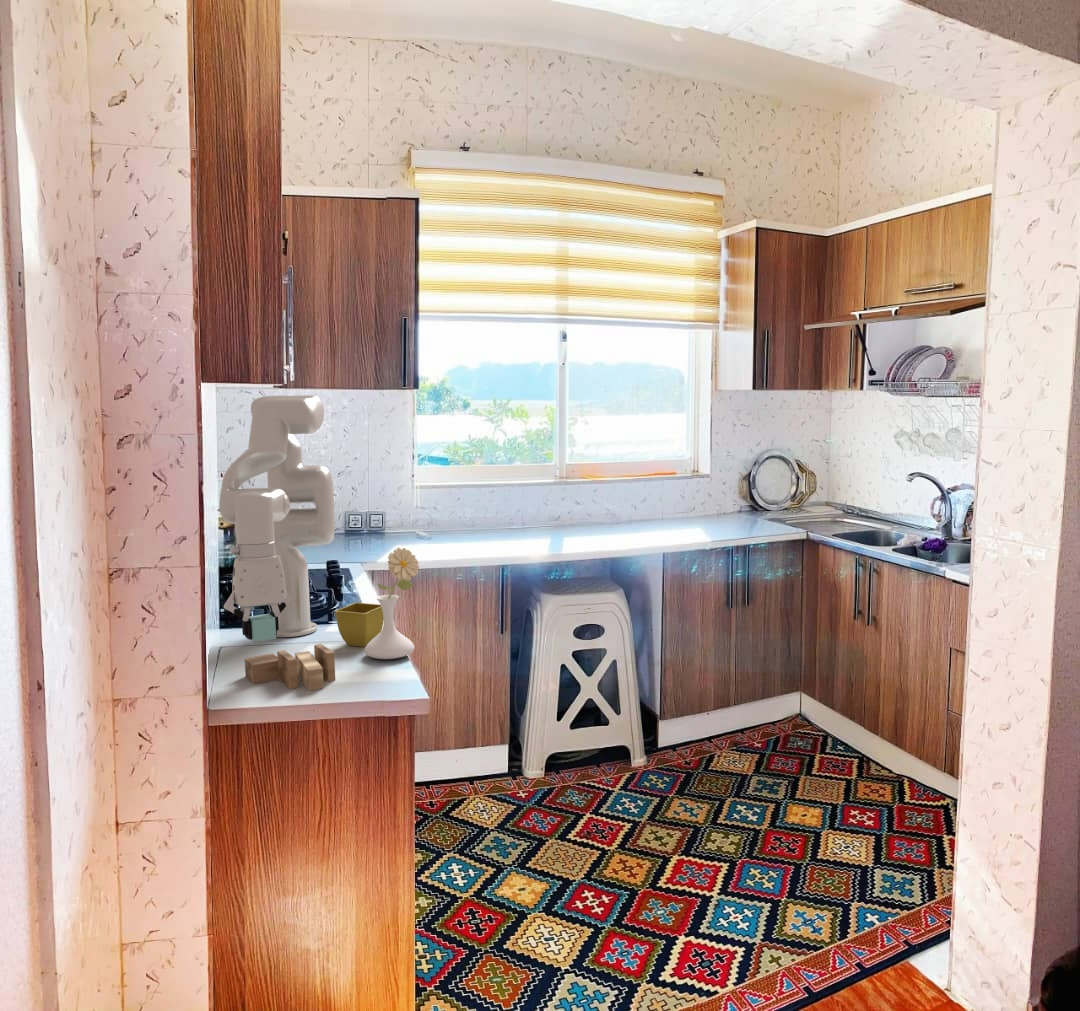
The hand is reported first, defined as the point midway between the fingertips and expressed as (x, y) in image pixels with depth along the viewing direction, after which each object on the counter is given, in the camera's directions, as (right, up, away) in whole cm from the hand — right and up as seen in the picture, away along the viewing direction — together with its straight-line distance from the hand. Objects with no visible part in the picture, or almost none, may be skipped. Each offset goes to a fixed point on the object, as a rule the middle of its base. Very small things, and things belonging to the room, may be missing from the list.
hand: (261, 635), depth 181 cm
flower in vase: (+25, -7, +16) cm, 31 cm away
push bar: (+10, -9, -1) cm, 14 cm away
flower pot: (+16, -6, +26) cm, 31 cm away
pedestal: (0, -9, +1) cm, 9 cm away
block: (0, 0, -1) cm, 1 cm away
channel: (+10, -9, -1) cm, 13 cm away
